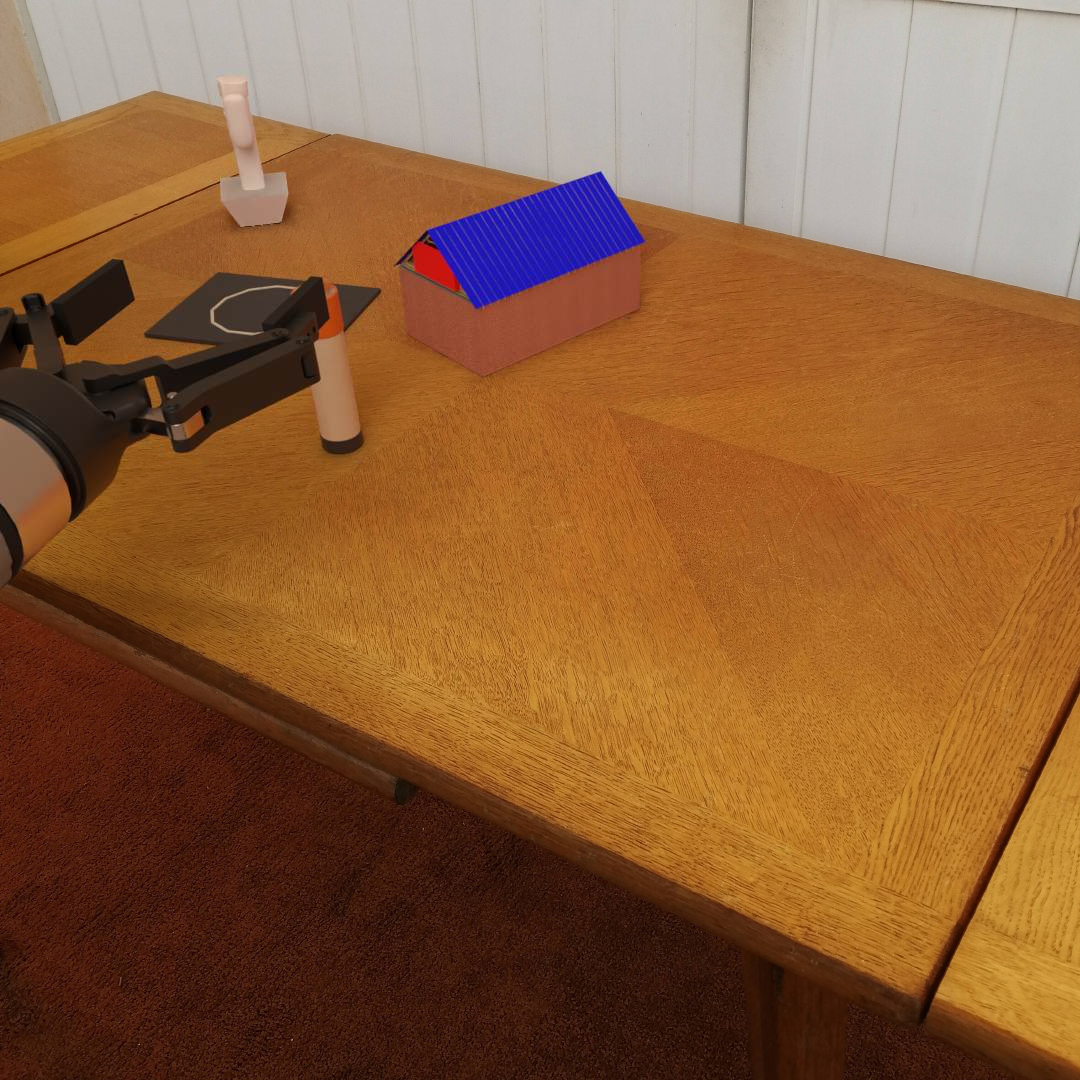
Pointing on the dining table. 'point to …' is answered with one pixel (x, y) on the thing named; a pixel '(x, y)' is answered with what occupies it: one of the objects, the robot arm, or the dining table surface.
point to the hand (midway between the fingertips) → (220, 288)
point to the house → (523, 275)
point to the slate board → (243, 308)
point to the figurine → (248, 164)
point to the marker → (335, 384)
